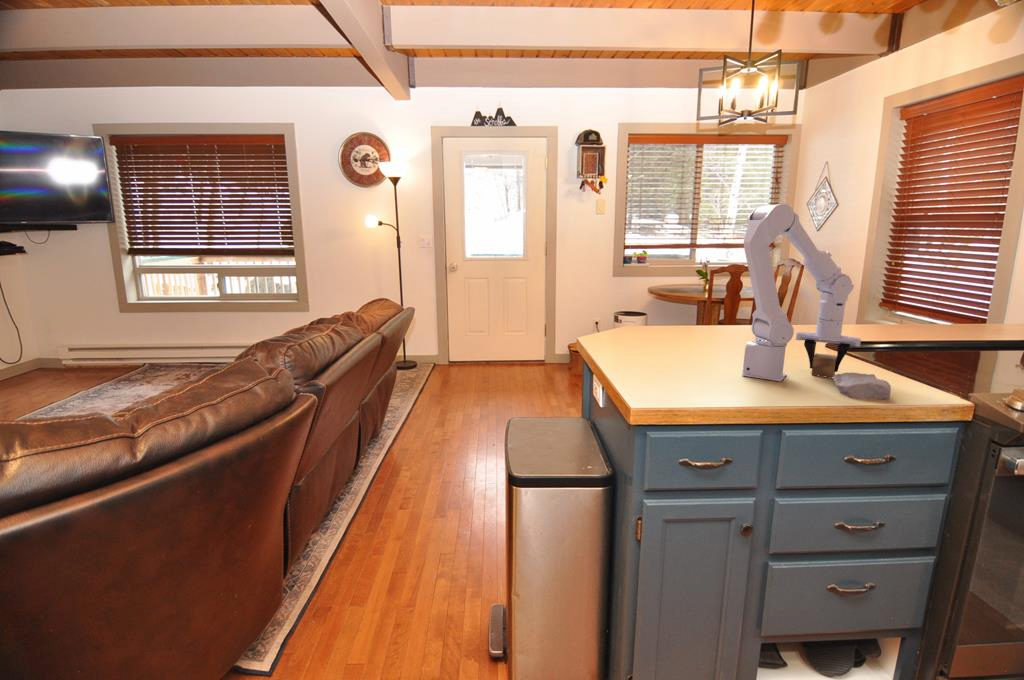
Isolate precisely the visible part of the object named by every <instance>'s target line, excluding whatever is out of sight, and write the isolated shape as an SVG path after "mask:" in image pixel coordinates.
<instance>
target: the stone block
mask: <svg viewBox="0 0 1024 680" xmlns="http://www.w3.org/2000/svg"><path fill="white" fill-rule="evenodd" d="M832 379H833V381H834V382H835V385H836V387H837V389H838V390H839V393H840V394H842V395H844V396H847V397H848V398H853V399H863V400H864V399H865V400H889V399H890V397H891V390H892V388H891V384H890V383H889V382H888V380H884V379H881V378H880V379H878V378H877V376H876V375H875V374H874V373H873V374H867V373H858V372H843V373H837V374H835V375H834V376H833V378H832Z"/></svg>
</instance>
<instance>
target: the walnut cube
mask: <svg viewBox="0 0 1024 680" xmlns="http://www.w3.org/2000/svg"><path fill="white" fill-rule="evenodd" d="M836 360H837V355H833V354H825V353H816V352H815V355H814V358H813V366H812V369H811V374H812V375H811V376H813V375H819V376H818V377H820V376H826V377H825V378H827V377H833V376H834V374H835V375H836V372H834V370H835V365H836Z"/></svg>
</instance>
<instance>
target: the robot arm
mask: <svg viewBox="0 0 1024 680" xmlns="http://www.w3.org/2000/svg"><path fill="white" fill-rule="evenodd" d="M746 221H747V226H746V231H745V235H744V239H743V248H744V253H745V258H746V262H747V263H746V264H747V268H748V269H747V270H748V273H749V277H750V283H751V287H752V288H751V289H752V293H753V298H754V303H755V310H754V311H753V313H752V323H751V332H752V334H753V335H754V337H755V338H754V341H751V340H748V341H746V345H745V347H744V355H743V356H744V357H743V367H742V373H741V375H742V377H751V378H754V379H755V378H756V379H763V380H769V381H776V382H782V381H783V379H785V377H786V375H787V373H786V372H784V365H785V356H786V347H787V346H788V343H789V342H790V341H791V340H792V339H793V337H794V327H793V324H791V322H790V320H789V319H788V315H787V313H786V312H785V311H784V309H783V308H782V307H781V305H780V300H779V299H780V298H779V295H778V290H777V284H776V279H775V274H774V267H773V263H772V257H771V253H770V247H769V246H770V245H771V244H772V243H773V242H774V240H775V239H776V238H777V237H778V236H780V235H782V236H785V237H786V239H787V240H788V241H789V242H790V243H791V244H792V245H793V247H795V249H797V251H798V252H799V253H800V254H801V256H802V257H804V258H803V266H804V267H805V268H806V269H807V271H808V272H809V274H810V275H811V276H812V278H813V279H814V280H815V286H816V290H818V291H819V292H820V297H819V305H818V312H817V320H816V329H815V332H803V331H802V332H801V331H797V332H796V336H795V341H804V343H803V345H804V348H805V351H806V353H807V356H808V361H809V369H811V370H812V366H813V358H814V355H815V354H816V348H817V347H816V346H817V343H824V344H832V345H834V344H835V345H837V344H838V345H837V351H836V356H837V360H836V365H835V370H834V372H835V373H837V372H838V371H839V367H840V365H841V363H842V360H843V359H844V357H845V356H846V354H847V353H848V352H849V350H850V348H851V346H853V347H856V348H857V347H859V348H860V347H861V341H862V338H860V337H855V336H848V335H842V331H843V324H844V316H845V308H846V302H847V301H848V297H849V295H850V294H851V293H852V291H853V290H854V286H855V285H854V284H853V281H852V279H851V276H849V275H847V274H845V273H842V268H841V267H840V266H837V265H838V264H837V263H836V262H835V261H834V260H833V259H832V258H831V257H832V254H831V252H830V251H826V250H825V249H818V248H817V245H815V243H814V242H813V240H812V239H811V237H810V235H809V234H808V233H807V231H806V230H805V228H804V226H803V225H802V223H801V222H800V216H799V215H798V214H797V213H796V212H795V211H794V209H793V208H792V206H790V205H789V204H786V203H779V204H768V205H767V204H762V205H760V204H759V205H758V206H756V207H755V208H753V210H752V211H751V212H750V214H749V215H748V216H747V218H746Z"/></svg>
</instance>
